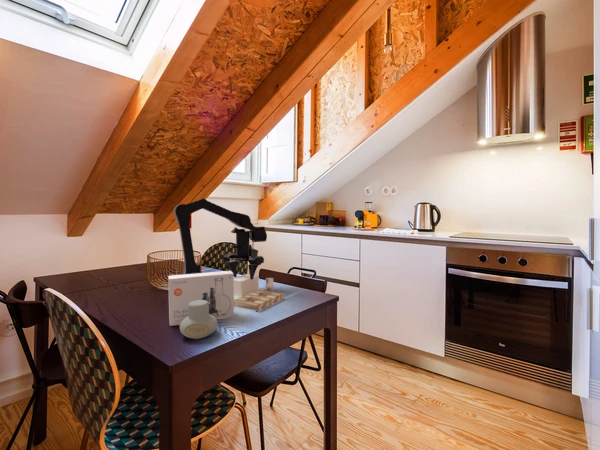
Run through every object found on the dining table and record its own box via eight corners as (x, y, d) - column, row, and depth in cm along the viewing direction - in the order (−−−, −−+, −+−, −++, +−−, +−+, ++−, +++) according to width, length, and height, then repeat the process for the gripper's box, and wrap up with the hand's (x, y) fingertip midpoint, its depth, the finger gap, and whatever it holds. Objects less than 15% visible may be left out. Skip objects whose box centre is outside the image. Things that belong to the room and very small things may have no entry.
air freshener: (177, 342, 93) (176, 308, 92) (183, 331, 101) (182, 299, 100) (216, 339, 94) (215, 305, 94) (219, 328, 102) (218, 297, 102)
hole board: (257, 311, 118) (257, 305, 118) (232, 307, 124) (231, 300, 123) (283, 299, 133) (283, 293, 133) (260, 295, 139) (260, 289, 139)
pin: (270, 295, 138) (270, 279, 138) (264, 295, 140) (264, 279, 139) (274, 294, 141) (274, 278, 141) (268, 293, 143) (268, 277, 142)
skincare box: (169, 327, 104) (167, 278, 103) (169, 321, 109) (167, 275, 108) (235, 317, 112) (233, 272, 111) (231, 312, 117) (230, 269, 116)
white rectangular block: (241, 296, 135) (241, 281, 135) (228, 294, 139) (228, 279, 138) (258, 289, 146) (258, 275, 145) (246, 288, 149) (246, 274, 149)
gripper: (271, 242, 143) (271, 276, 144) (238, 240, 152) (238, 272, 153) (255, 244, 134) (256, 282, 135) (221, 242, 143) (222, 277, 144)
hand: (243, 278), depth 142 cm, fingers open, 9 cm apart
